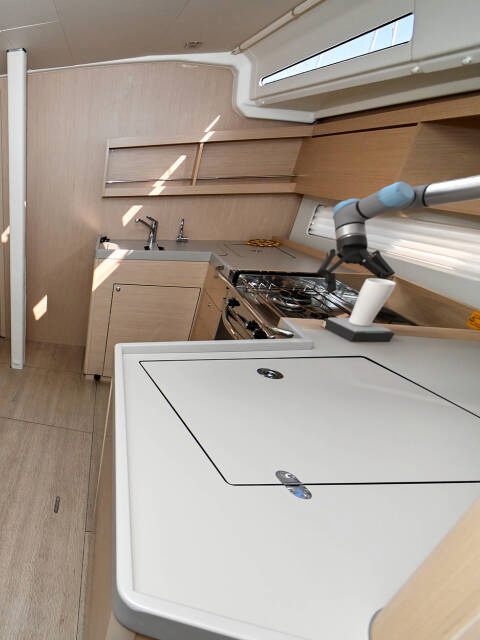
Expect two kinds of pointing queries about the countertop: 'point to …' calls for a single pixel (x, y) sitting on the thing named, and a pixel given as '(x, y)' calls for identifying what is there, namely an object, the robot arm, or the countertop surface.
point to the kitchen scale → (358, 331)
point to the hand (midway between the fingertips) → (356, 292)
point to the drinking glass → (370, 300)
